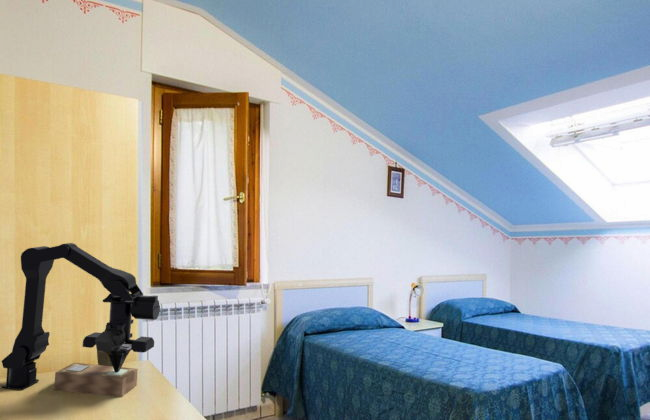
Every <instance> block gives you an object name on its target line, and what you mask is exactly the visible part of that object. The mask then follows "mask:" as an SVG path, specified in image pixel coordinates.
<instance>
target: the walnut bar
mask: <svg viewBox="0 0 650 420" xmlns="http://www.w3.org/2000/svg"><path fill="white" fill-rule="evenodd" d="M75 365H81V366H89V367H88V368H87V369H85V370H83V371H81V372H74V371H67V370H68V369H69V368H71V367H73V366H75ZM113 369H114V368H113V366H104V365H98V364H92V363H91V364H90V363H84V362H83V363H81V362H72V363H71V364H69V365H67V366H65V367H63V368H61V369H59V370H58V371H55V372H54V373H55V374H54V387H53V390H54V391H61V392H68V393H79V394H80V393H81V394H89V395H90V394H91V395H98V396H99V395H100V396H108V397H109V396H111V397H118V398H119V397H121V398H122V397H124V396H125V395H126V394H127V393H129V392H130V391H132V390H133V389H135V388H136V387H137V386H138V385H137V384H138V383H137V382H138V370H139V369H138V368H134V367H133V368H132V367H123V366H122V367H121V369H123V370H128V371H127V372H126V373H124V374H123V375H121V376H115V375H107V373H109V372H110V371H112V370H113Z"/></svg>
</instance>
